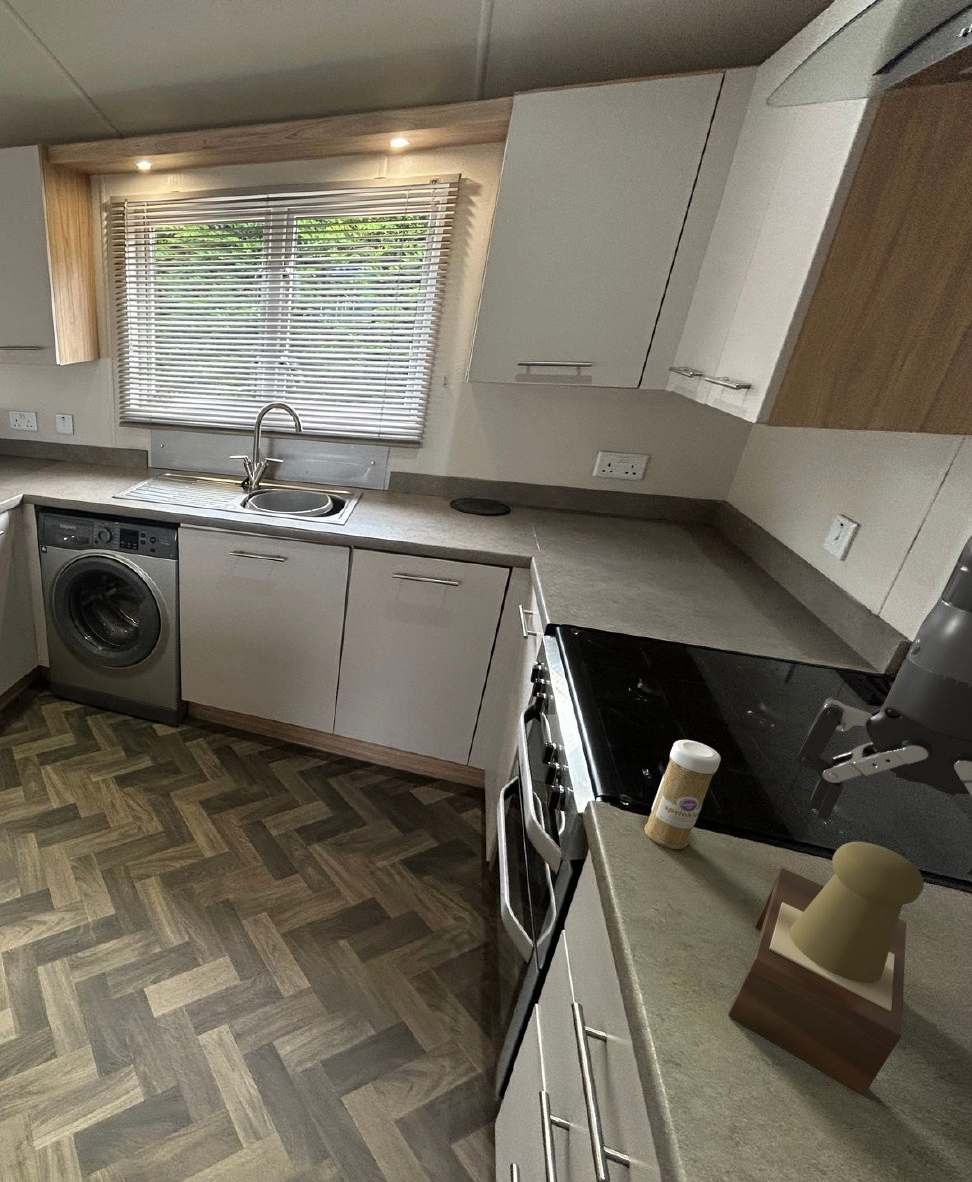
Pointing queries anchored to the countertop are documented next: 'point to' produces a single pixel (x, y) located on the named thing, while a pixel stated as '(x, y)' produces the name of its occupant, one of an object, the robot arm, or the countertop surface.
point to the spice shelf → (819, 995)
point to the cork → (857, 911)
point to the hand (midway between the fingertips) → (892, 841)
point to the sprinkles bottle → (681, 793)
